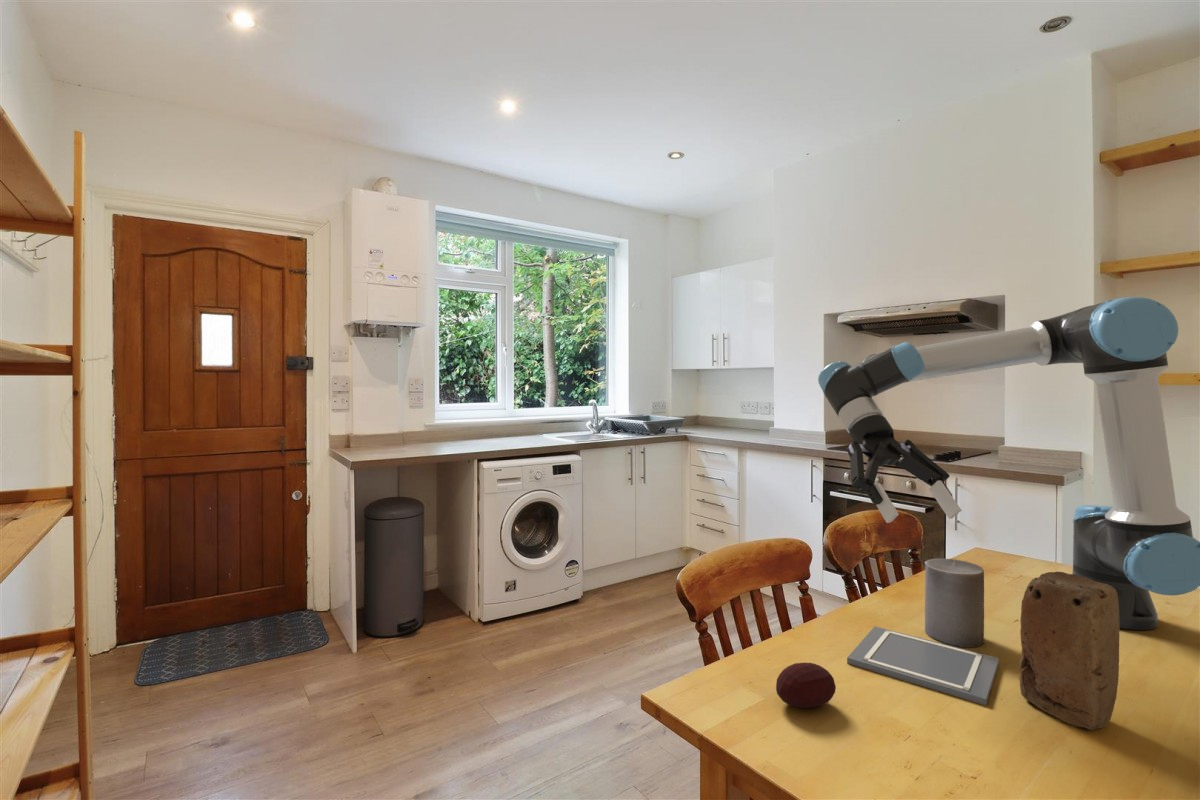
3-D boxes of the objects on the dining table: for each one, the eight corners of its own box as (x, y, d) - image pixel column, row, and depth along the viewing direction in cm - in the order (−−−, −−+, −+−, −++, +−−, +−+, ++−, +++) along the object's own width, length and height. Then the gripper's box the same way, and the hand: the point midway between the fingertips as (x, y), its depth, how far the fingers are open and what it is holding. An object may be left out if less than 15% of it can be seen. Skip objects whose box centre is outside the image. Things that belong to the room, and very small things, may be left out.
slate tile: (998, 663, 99) (998, 657, 99) (985, 705, 86) (986, 698, 86) (874, 631, 112) (874, 625, 112) (847, 663, 99) (847, 656, 99)
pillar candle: (975, 629, 113) (975, 554, 113) (991, 651, 104) (991, 568, 104) (919, 623, 116) (920, 549, 116) (930, 643, 107) (930, 563, 107)
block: (1123, 726, 81) (1127, 585, 81) (1094, 739, 78) (1098, 593, 78) (1037, 688, 91) (1041, 563, 91) (1009, 699, 88) (1012, 570, 87)
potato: (845, 715, 83) (846, 674, 83) (788, 721, 82) (788, 680, 82) (817, 688, 91) (817, 651, 91) (764, 693, 89) (764, 655, 89)
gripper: (906, 436, 121) (966, 524, 107) (803, 438, 115) (854, 531, 101) (927, 412, 116) (994, 501, 102) (821, 413, 109) (877, 508, 95)
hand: (924, 516), depth 101 cm, fingers open, 13 cm apart
